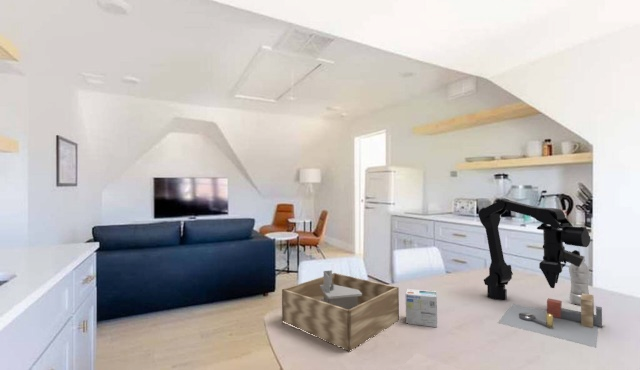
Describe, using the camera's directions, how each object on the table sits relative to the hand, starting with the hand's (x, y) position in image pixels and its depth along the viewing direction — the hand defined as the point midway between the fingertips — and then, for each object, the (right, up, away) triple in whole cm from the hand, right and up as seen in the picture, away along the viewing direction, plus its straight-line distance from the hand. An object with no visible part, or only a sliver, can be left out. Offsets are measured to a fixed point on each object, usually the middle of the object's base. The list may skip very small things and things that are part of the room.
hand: (553, 285), depth 115 cm
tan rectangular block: (+7, -11, -6) cm, 15 cm away
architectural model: (-79, -14, -2) cm, 80 cm away
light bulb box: (-49, -13, -2) cm, 51 cm away
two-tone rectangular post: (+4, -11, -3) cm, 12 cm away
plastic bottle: (+19, -12, +12) cm, 26 cm away
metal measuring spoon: (-10, -11, -5) cm, 16 cm away
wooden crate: (-78, -13, -1) cm, 79 cm away
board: (-6, -12, -5) cm, 14 cm away
